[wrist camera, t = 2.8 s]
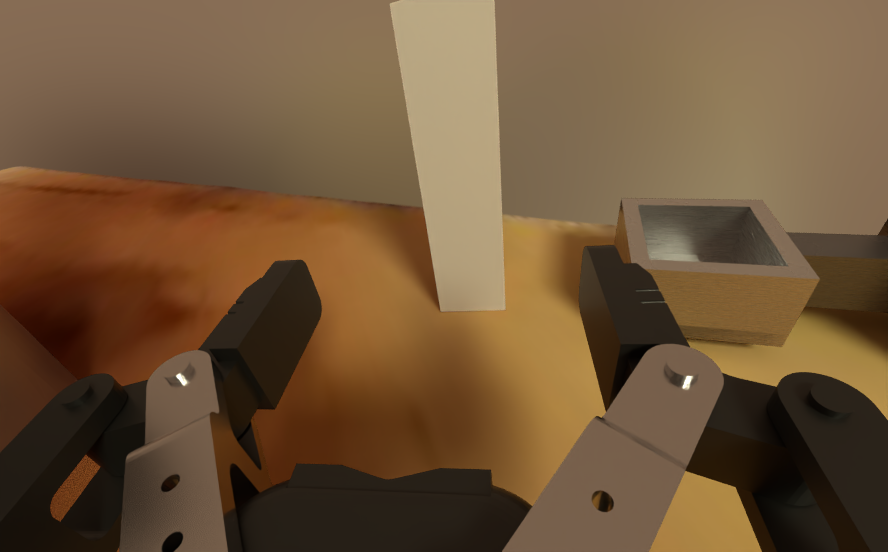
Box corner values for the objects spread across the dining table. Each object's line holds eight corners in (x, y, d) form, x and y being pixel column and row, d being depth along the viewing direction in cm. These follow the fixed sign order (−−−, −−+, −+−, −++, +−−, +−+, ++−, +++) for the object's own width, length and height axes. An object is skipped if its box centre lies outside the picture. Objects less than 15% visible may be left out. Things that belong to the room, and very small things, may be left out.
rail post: (440, 311, 25) (389, 3, 15) (446, 273, 28) (406, -2, 19) (505, 310, 24) (494, -11, 15) (503, 271, 27) (493, -15, 18)
